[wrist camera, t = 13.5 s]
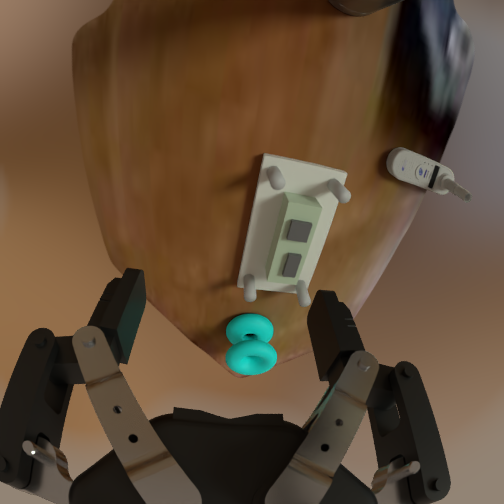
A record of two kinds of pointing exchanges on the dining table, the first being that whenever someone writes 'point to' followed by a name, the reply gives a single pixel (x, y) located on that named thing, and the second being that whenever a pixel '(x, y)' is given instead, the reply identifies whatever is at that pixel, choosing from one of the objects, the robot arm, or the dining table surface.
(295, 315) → the dining table surface
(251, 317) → the donuts
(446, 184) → the electronic device
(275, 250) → the pale green block
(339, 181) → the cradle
